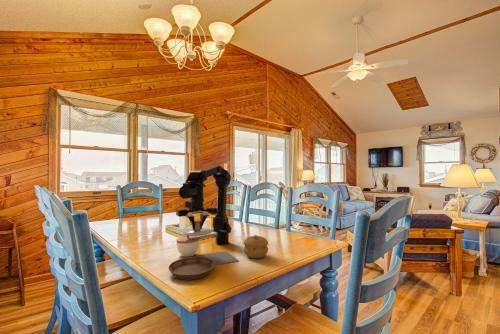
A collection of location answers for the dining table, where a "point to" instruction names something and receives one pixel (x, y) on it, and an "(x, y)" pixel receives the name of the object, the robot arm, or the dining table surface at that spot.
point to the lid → (197, 230)
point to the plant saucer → (191, 267)
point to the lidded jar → (188, 245)
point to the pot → (255, 246)
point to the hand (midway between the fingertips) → (197, 229)
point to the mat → (219, 257)
